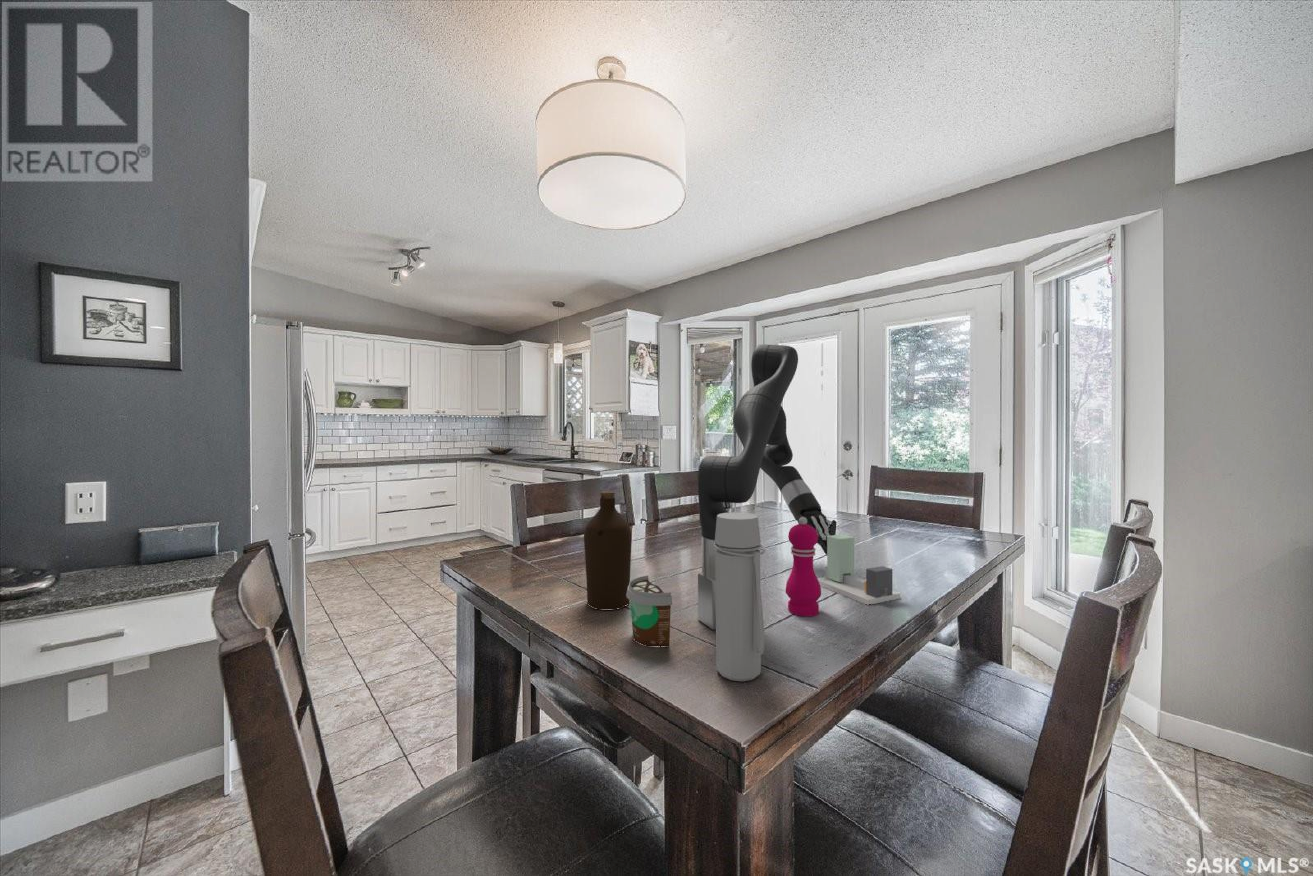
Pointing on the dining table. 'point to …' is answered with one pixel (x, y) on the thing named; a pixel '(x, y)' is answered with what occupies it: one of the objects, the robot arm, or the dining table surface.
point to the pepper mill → (803, 571)
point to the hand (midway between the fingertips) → (833, 555)
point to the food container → (649, 612)
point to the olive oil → (607, 556)
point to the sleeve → (840, 556)
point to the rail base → (864, 586)
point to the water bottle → (738, 596)
